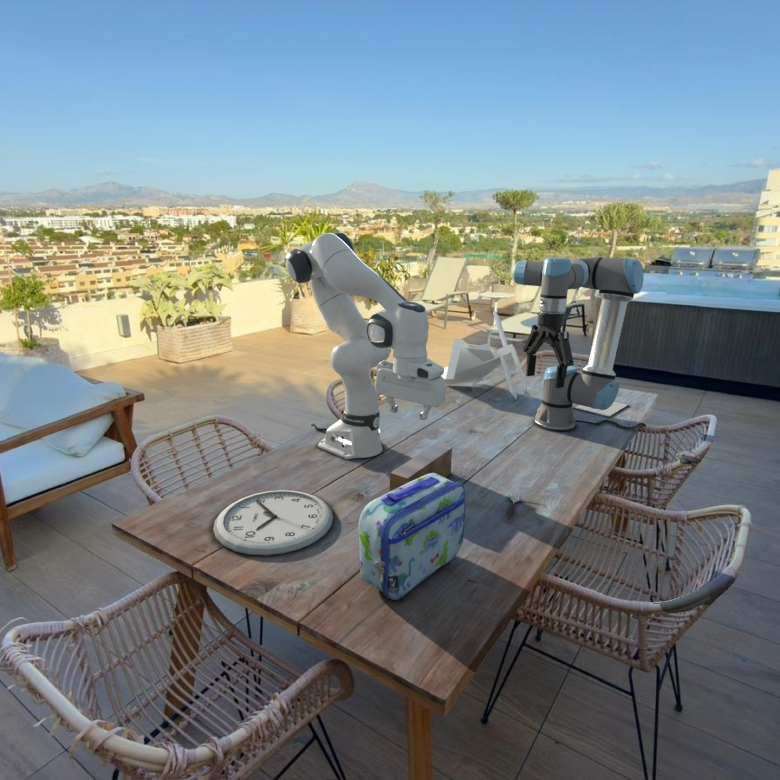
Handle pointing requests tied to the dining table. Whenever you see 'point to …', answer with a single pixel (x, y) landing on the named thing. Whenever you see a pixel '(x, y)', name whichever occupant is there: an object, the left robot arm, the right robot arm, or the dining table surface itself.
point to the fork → (514, 499)
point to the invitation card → (608, 412)
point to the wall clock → (273, 522)
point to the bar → (423, 466)
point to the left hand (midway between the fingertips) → (408, 415)
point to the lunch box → (410, 533)
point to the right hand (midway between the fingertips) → (544, 381)
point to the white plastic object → (482, 362)
